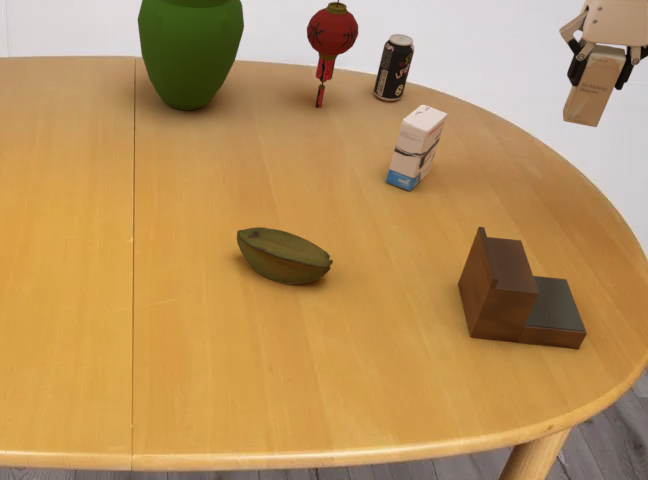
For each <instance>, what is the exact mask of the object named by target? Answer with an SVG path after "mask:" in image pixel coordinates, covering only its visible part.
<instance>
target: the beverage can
mask: <svg viewBox="0 0 648 480" xmlns="http://www.w3.org/2000/svg"><path fill="white" fill-rule="evenodd" d="M414 52H415V46H414V39H413V38H412V37H411V36H409V35H407V34H401V33H395V34H392V35H390V36H389V37H388V40H386V42H385V43H384V45H383V50H382V54H381V58H380V62H379V66H378V71H377V75H376V78H375V84H374V87H373V93H374V95H375V96H376V97H377V98H378V99H380V100H382V101H386V102H394V101H398V100H400V99H401V98H402V97H403V95H404V91H405V88H406V84H407V81H408V76H409V72H410V69H411V64H412V60H413V57H414Z"/></svg>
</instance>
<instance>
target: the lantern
mask: <svg viewBox="0 0 648 480" xmlns="http://www.w3.org/2000/svg"><path fill="white" fill-rule="evenodd" d="M358 36H359V24H358V22H357V20H356V18H355V15H354V14H353V13H351V12H350V11H348V8H347V5H346V4H345V3H343V2H341V1H340V0H337V1H332V2H328V4H327V6H326V7H324V8H321V9H318V11H316V13H315V14H313V15H312V16H311V18H310V19H309V22H308V23H307V26H306V37H307V42H308V43H309V44H310V46H311V48H312V50H314V51H316V52H317V54H318V61H317V66H316V71H315V78H316V79H317V80H319V81H320V82H321V83H320V84H319V85H318V89H317V95H316V98H315V99H316V100H315V104H314V107H315V108H317V109H320V108H322V106H323V100H324V96H325V95H324V94H325V89H326V86H325V84H324V83H326V82H328V81H330V80H332V79H333V74H334V69H335V65H336V61H337V58H338V56H339V55H343V54H344V53H345V54H346V53H347V52H348V51H349V50H350V49H351V48H353V47H354V44H355V43H356V41H357V39H358Z"/></svg>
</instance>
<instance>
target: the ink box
mask: <svg viewBox="0 0 648 480" xmlns="http://www.w3.org/2000/svg"><path fill="white" fill-rule="evenodd" d="M447 117H448V113H447V112H445V111H442V110H439V109H436V108H434V107H431V106H429V105H426V104H420V105H419V106H418V107H417V108H416V109H414V110H413V111H412V112H410V114H408V115H406V116H405V117H404V118H403V119H402V122H401V124H400V128H399V130H398V135H397V139H396V142H395V146H394V150H393V153H392V157H391V161H390V164H389V168H388V172H387V175H386V178H385V183H387V184H389V185H392V186H395V187H397V188H400V189H403V190H406V191H408V192H411V191H412V190H413V189H414V188H415V187H416V186H417V185H418V184H419V183H420V182H421V181H422V180H423V179H424V178H425V177H426V176H427V175H428V174H429V173H430V171H431V168H432V165H433V162H434V159H435V156H436V152H437V149H438V145H439V142H440V139H441V136H442V133H443V130H444V126H445V123H446V120H447Z"/></svg>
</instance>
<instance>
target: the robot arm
mask: <svg viewBox="0 0 648 480" xmlns="http://www.w3.org/2000/svg"><path fill="white" fill-rule="evenodd" d="M577 31H579V32H582V35H581V37H580V38H579V40H578V39H576V37H575V35H574V33H576V32H577ZM558 32H559V34H560V36H561V38H562V39H563V41H564V42H565V43H566V44H567V46H568V47H569V49H570V51H571V53H572V54H573V56H572V58H571V61H570V63H569V67H568V70H567V72H566V76H567V79H568V81H569V83H570V84H571V87H572V86H578V85H579V82H580V80H581V77H582V75H583V72H584V69H585V67H586V64H587V61H586V60H585V58H586V56H587V55H588V54H589V52H590V51H591V50H592V49H593V48H594V46H595V45H596V44H597V45H609V46H624V47H625V56H626V61H625V63H624V66H623V68H622V70H621V73H620V75H619V77H618V79H617V82H616V84H615V86H614V89H615V90H616V91H622V89H623V88H624V85H625V84H626V83H628V82H629V79H630V77H631V74H632V73H633V70H634V68H635V66H637V65H639V64H640V62H641V61H642V60H644V59H646V58H647V57H648V0H585V1H584V3H583V5H582V8H581V10H580V12H579V15H577V16H576V17H575V18H573V19H572V20H570V21H569V22H567V23H565V25H563V26H561V27H560V28H559V30H558Z"/></svg>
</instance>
